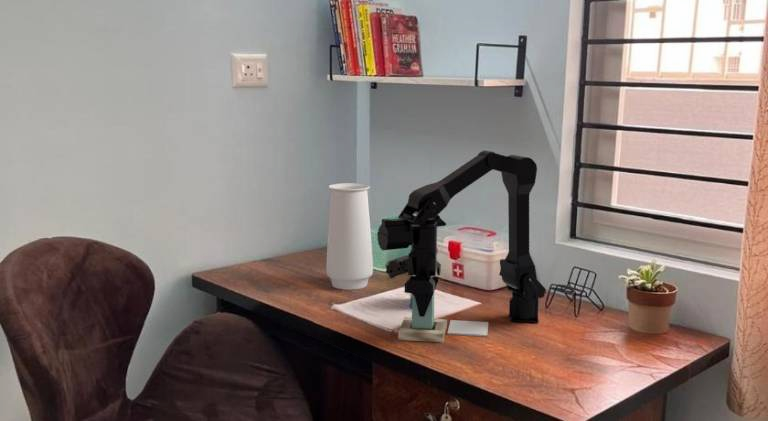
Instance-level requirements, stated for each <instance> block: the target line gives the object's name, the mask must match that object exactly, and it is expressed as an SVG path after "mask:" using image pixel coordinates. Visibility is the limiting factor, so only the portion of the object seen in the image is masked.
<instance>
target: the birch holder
mask: <svg viewBox="0 0 768 421" xmlns="http://www.w3.org/2000/svg"><path fill="white" fill-rule="evenodd" d="M447 329H448V319H447V318H446V319H444V318H443V319H442V318H434V324H433V327H432V329H426V328H412V316H410V317H409V316H405V317H404V318H403V319H402V322H401V324H400V327H399V329H398V332H397V334H398V335H397V340H398V341H412V342H428V343H443V344H444V340H445V336H446V332H447Z"/></svg>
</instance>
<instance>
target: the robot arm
mask: <svg viewBox="0 0 768 421" xmlns="http://www.w3.org/2000/svg"><path fill="white" fill-rule="evenodd" d="M492 170H493V171H497V172H499V173H501V179H502V182H503V186H504V187H505V190H506V191H507V195H508V196H507V198H508V201H507V202H508V204H507V207H508V253H507V255H506V257H505V259H504V258H503V259H499V266H500V270H499V271H500V272H499V274H498V275H499V276H501V280H502V282H503V283H504V284H505V285H506V288H507V291H509V292H512V294H511V296H510V297H509V304H508V305H509V308H508V309H509V310H508V316H509V318H510V321H511V322H517V323H518V322H519V323H539V302H540V301H539V300H540V299H542V298H544V296H545V294H546V290H547V289H546V288H545V287H544V286H543V284H542V283H541V282H540V281H539V280H538V277H537V271H536V269H537V268H536V265H535V263H534V261H533V258H532V256H531V254H530V194H531V192H532V189H533V188H534V186H535V184H536V178H537V173H538V167H537V163H536V161H535V160H534V159H532V158H531V157H528V156H527V157H526V156H523V155H516V154H509V155H504V154H503V155H502V154H499V153H497V152H495V151H491V150H482V151H480V152H479V153H478V154H477V155H476V156H475V157H473V158H472V159H470V160H469V161H466V163H464V164H463V165H461V166H459V168H457V169H455V170H453V171H452V172H451V173H450V174H448V175H447V176H445V177H444V178H442V179H440V180H438V181H436V182H434V183H433V182H432V183H429V184H425V185H423V186H420V187H419V188H416V189H415V190H413V191H412V192H411V193H410V194H409V196H408V200H407V203H406V204H405V206H404V208H403V209H402V210H401V212H400V214H399V215H398V218H382V219H381V224H380V225H379V227H378V230H377V233H376V234H377V235H376V236H377V242H378V246H379V248H380V249H381V250H382V251H390V250H399V249H400V250H402V249H408V248H409V247H410V246H411V247H410V251H409V253H408V255H404V256H401V257H396V258H394V259H390V260H388V261H387V262H386V264H385V269H386V271H385V273H386V274H388V276H389V279H394V278H396V277H397V276H401V275H405V274H407V276H409V277H408V278H407V279H406V281H405V283H404V293H406V294H410V293H412V294H413V295H414V296H415V300H416V304H417V308H418V312H419V316H420V317H424V316H425V313H426V311H427V308H428V306H429V304H430V301H431V299H432V296H433V294H434V295H435V292H436V287H437V285H438V283H439V280H440V277H439V276H440V275H441V272H442V265H441V263H440V262H439V261H438V260H437V259H438V258H437V256H438V253H439V250H438V227H445V226H447V222H446V221H444V220H443V219H442V218H441V216H440V215H439V214H440V213H442V212H443V211H444V210H445V209H446V208H447V207H448V205H449V203H450V201H451V200H452V199H453V198H454V197H455V196H456V195H457V194H459V193H461V192H462V191H464V190H465V189H466V188H468V187H470V186H471V185H472V184H473V183H475V182H477V181H478V180H479V179H481V178H482V177H484V176H485V175H487V174H488V173H489V172H491V171H492ZM414 214H415V215H414ZM411 275H415V276H411ZM436 275H437V276H436Z"/></svg>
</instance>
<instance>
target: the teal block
mask: <svg viewBox="0 0 768 421" xmlns="http://www.w3.org/2000/svg"><path fill="white" fill-rule="evenodd" d="M411 317H412V328H426V329H425V330H427V329H432V327H433V324H434V319H435V293H434V294H433V296H432V299H431V301H430V304H429V306H428V308H427V311H426V313H425V316H424V317H420V316H419V312H418V308H417V304H416V300H415V296H414V295H413V294H412V308H411Z"/></svg>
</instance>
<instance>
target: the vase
mask: <svg viewBox="0 0 768 421" xmlns="http://www.w3.org/2000/svg"><path fill="white" fill-rule="evenodd" d="M370 188H371V186H370V185H369V184H364V183H356V182H354V183H353V182H352V183H351V182H349V183H347V182H345V183H344V182H343V183H342V182H341V183H334V184H330V185H328V189H329V190H330V201H329V215H328V229H327V230H328V231H327V245H326V246H327V248H326V262H325V263H326V270H325V271H326V275H327V277H328V278H330V281H331V285H332V287H333V288H336V289H338V290H345V291H346V290H347V291H349V290H352V291H353V290H359V289H364V288H366V287H367V286H368V282H369V279H370V277H372V275H373V274H374V266H373V264H374V263H373V261H374V260H373V247H372V232H371V231H372V230H371V219H370V209H369V195H368V190H370Z"/></svg>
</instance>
